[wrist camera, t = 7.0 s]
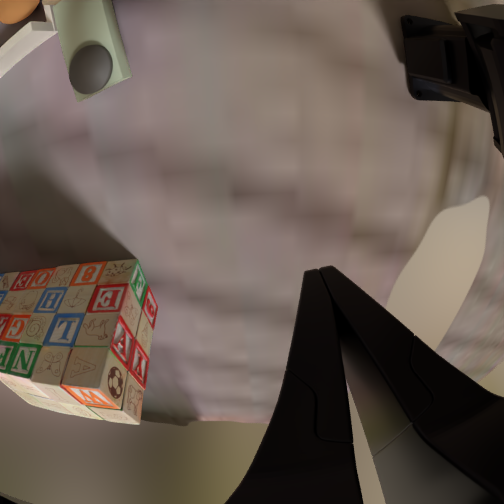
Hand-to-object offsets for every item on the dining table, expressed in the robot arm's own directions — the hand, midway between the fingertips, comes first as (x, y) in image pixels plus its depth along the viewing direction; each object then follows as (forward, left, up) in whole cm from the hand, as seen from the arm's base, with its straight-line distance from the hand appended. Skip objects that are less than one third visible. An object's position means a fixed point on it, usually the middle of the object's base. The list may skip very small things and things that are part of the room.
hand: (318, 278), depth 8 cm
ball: (+13, -18, -10) cm, 24 cm away
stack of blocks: (+23, +7, -12) cm, 27 cm away
